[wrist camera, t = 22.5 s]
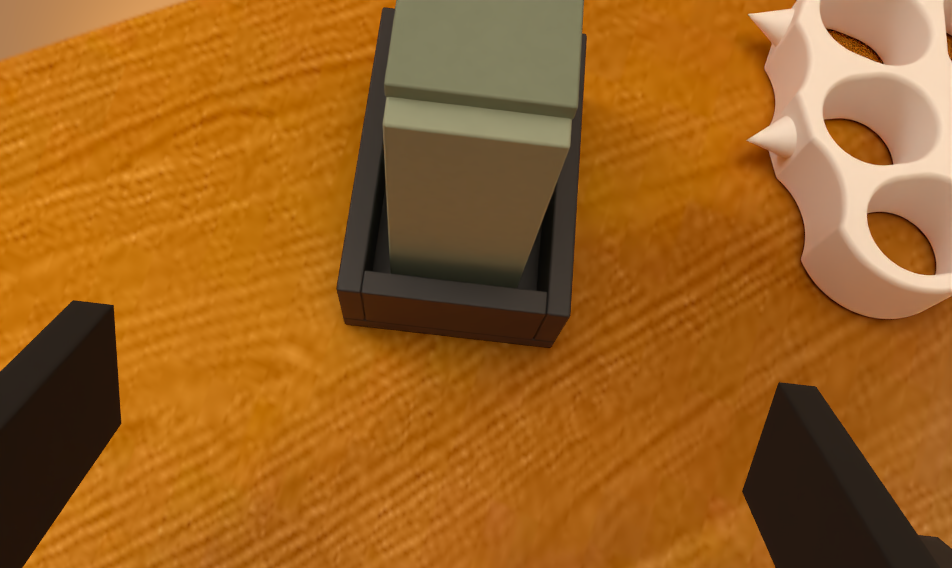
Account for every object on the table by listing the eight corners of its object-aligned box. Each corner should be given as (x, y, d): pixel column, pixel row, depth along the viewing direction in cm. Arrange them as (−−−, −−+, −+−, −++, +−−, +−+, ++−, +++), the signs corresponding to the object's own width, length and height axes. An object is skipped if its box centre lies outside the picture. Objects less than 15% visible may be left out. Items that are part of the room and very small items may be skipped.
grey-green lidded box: (389, 283, 30) (379, 113, 19) (414, 94, 32) (418, -149, 22) (515, 297, 30) (576, 137, 19) (529, 107, 33) (590, -126, 22)
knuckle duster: (1098, 352, 32) (727, 298, 31) (1043, -21, 38) (734, -70, 38) (1174, 326, 29) (763, 267, 28) (1101, -76, 35) (764, -130, 34)
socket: (344, 324, 30) (335, 289, 26) (385, 67, 34) (382, 6, 30) (551, 348, 30) (570, 317, 27) (568, 90, 34) (587, 33, 30)
